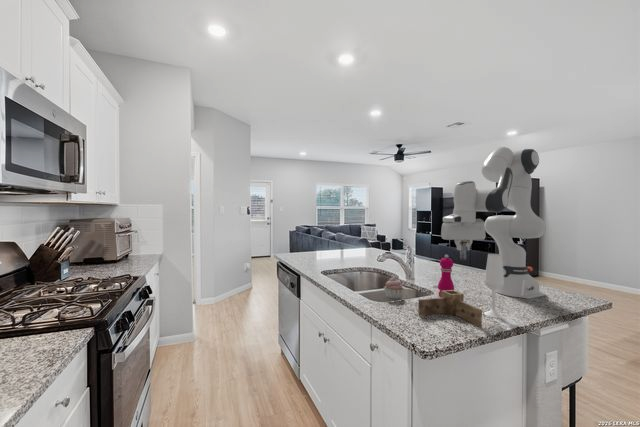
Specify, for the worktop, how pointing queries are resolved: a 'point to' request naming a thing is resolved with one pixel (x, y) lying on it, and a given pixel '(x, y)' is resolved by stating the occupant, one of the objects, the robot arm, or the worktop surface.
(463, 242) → the hinge pin
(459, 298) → the hinge
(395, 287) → the cupcake
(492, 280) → the champagne flute
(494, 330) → the worktop surface
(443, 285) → the pepper mill
